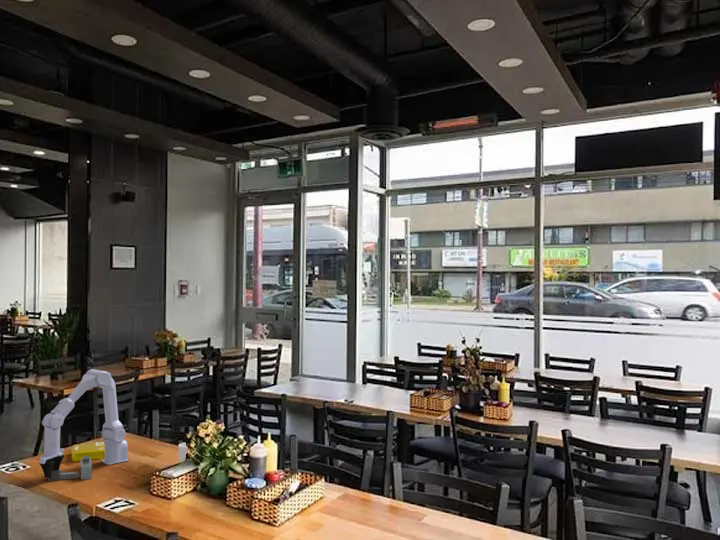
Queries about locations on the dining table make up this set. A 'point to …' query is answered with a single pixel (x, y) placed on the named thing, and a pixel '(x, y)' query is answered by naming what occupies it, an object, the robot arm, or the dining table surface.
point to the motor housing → (86, 468)
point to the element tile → (88, 451)
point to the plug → (62, 475)
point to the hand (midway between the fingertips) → (51, 475)
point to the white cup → (182, 451)
